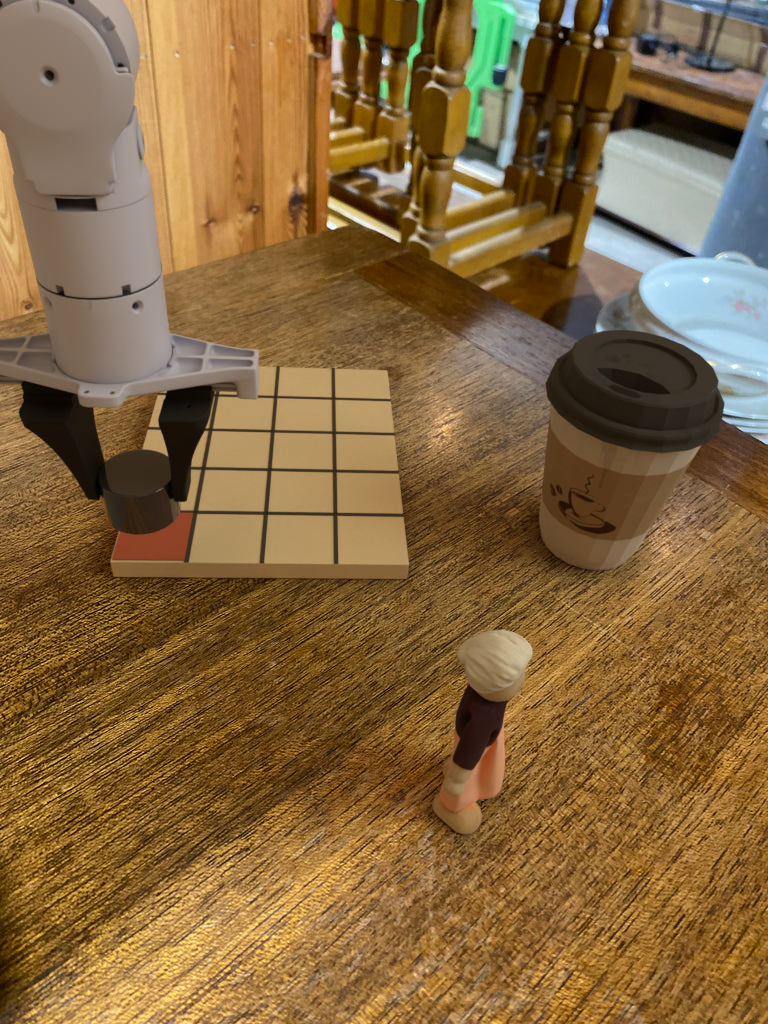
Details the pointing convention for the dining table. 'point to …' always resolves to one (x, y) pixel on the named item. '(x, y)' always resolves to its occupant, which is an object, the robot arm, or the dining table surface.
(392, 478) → the board
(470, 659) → the grandmother figurine
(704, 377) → the coffee cup
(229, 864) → the dining table surface
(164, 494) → the dark grey cylinder
